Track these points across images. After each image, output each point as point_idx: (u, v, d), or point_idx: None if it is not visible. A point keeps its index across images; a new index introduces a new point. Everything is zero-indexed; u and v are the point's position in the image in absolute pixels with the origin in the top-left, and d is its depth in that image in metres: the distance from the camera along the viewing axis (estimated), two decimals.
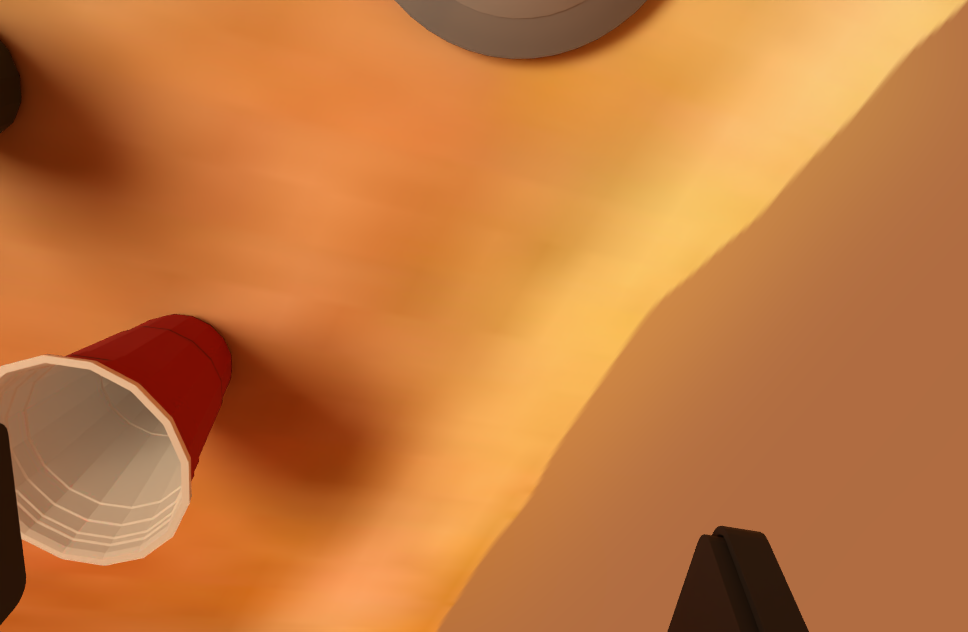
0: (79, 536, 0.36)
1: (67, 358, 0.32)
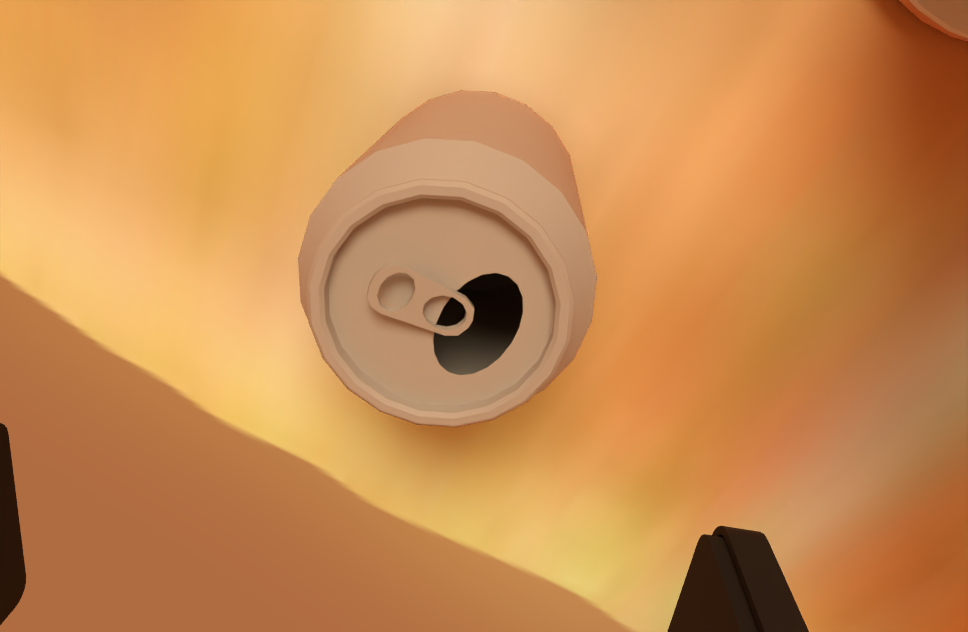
0: None
1: None
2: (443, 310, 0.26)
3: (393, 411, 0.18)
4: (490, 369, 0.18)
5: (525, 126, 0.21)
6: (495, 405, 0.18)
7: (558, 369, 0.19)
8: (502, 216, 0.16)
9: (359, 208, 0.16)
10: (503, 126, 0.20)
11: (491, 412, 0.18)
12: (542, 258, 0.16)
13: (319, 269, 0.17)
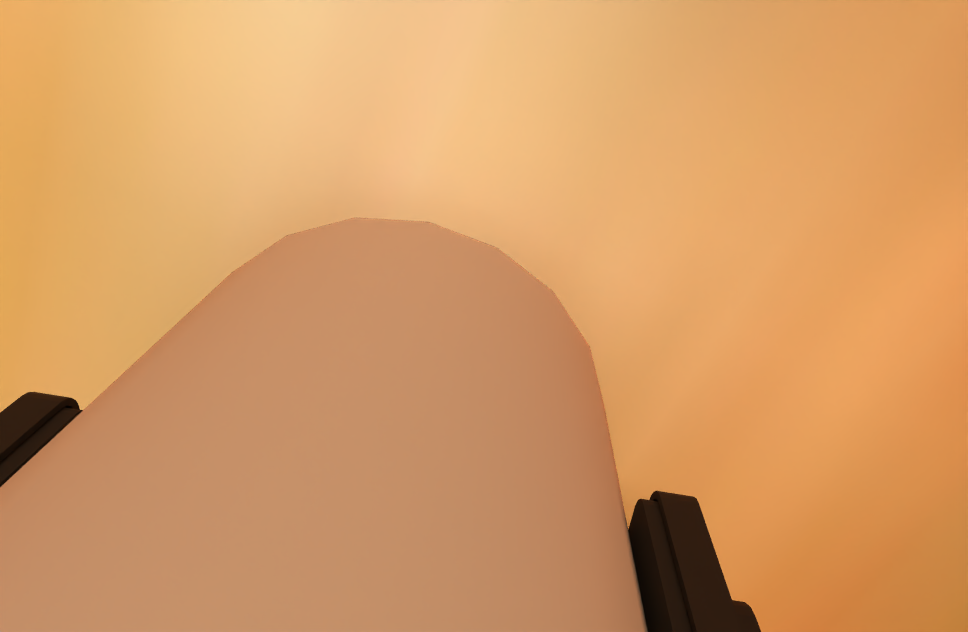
0: None
1: None
2: None
3: None
4: None
5: (483, 384, 0.08)
6: None
7: None
8: None
9: None
10: (405, 441, 0.06)
11: None
12: None
13: None
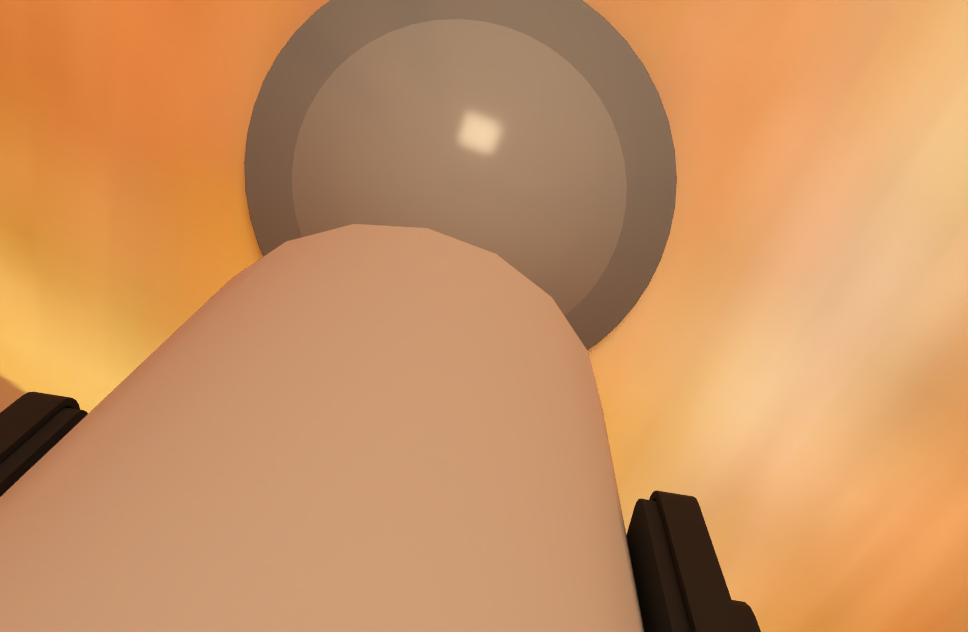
0: None
1: None
2: None
3: None
4: None
5: (481, 393, 0.08)
6: None
7: None
8: None
9: None
10: (403, 452, 0.06)
11: None
12: None
13: None
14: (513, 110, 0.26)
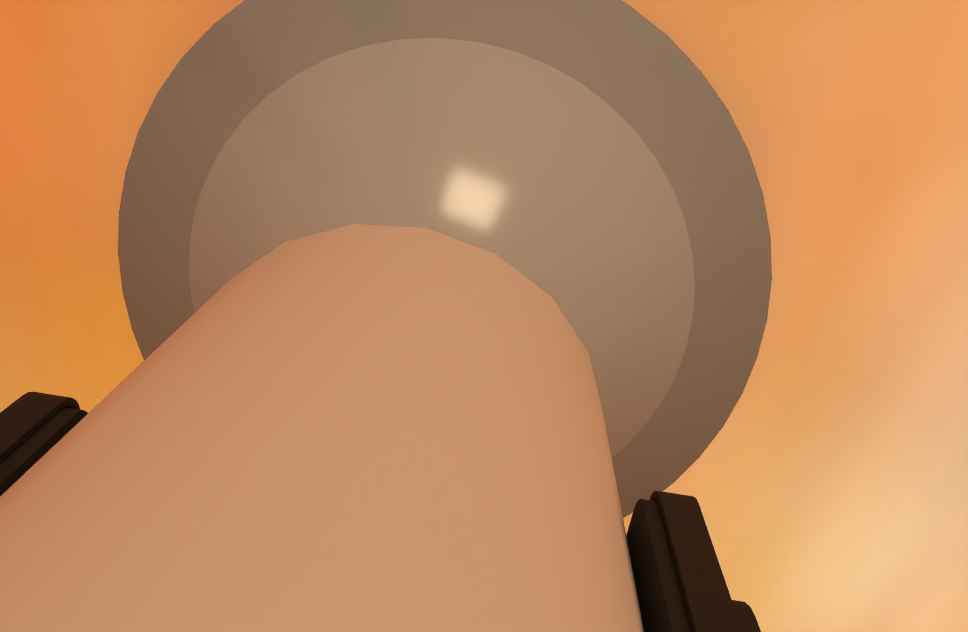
0: None
1: None
2: None
3: None
4: None
5: (481, 393, 0.08)
6: None
7: None
8: None
9: None
10: (402, 452, 0.06)
11: None
12: None
13: None
14: (522, 178, 0.17)
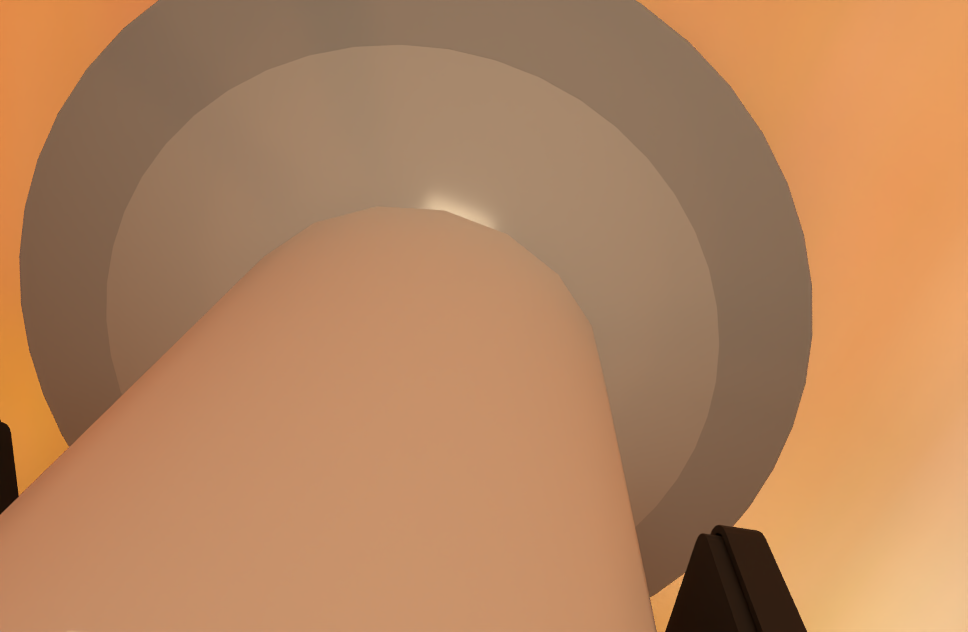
0: None
1: None
2: None
3: None
4: None
5: (500, 346, 0.09)
6: None
7: None
8: None
9: None
10: (436, 388, 0.07)
11: None
12: None
13: None
14: (509, 216, 0.14)
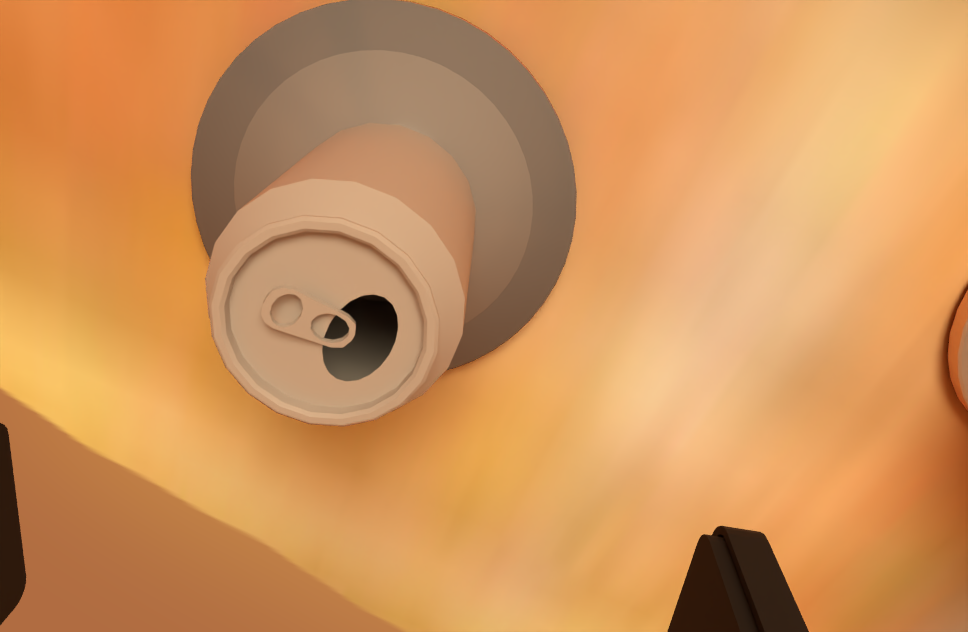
0: None
1: None
2: None
3: (288, 412, 0.21)
4: (372, 376, 0.21)
5: (416, 161, 0.24)
6: (376, 407, 0.21)
7: (434, 375, 0.22)
8: (374, 247, 0.19)
9: (252, 239, 0.19)
10: (392, 163, 0.23)
11: (373, 413, 0.21)
12: (410, 283, 0.19)
13: (219, 290, 0.20)
14: (431, 130, 0.29)
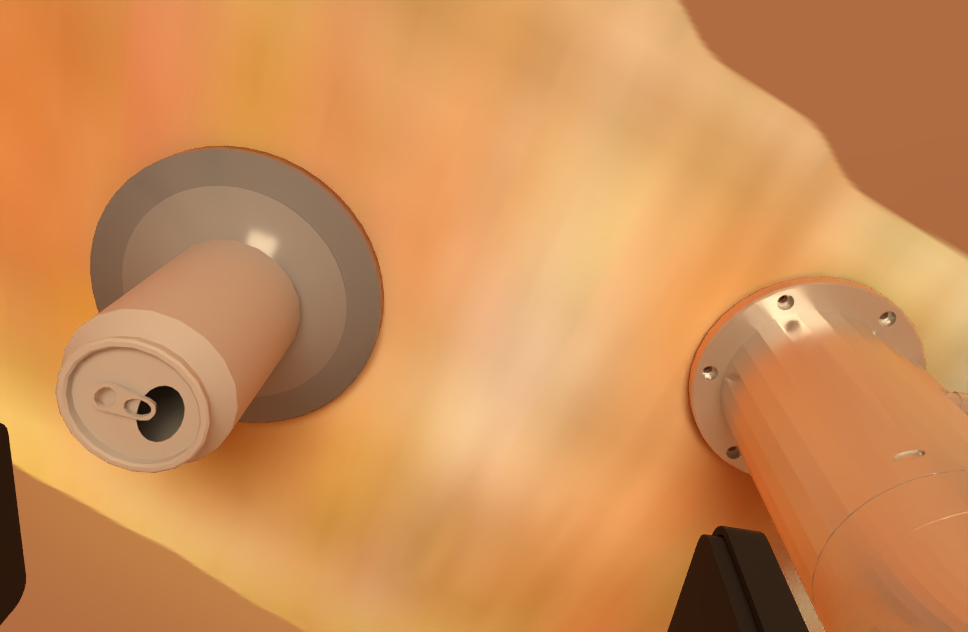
0: None
1: None
2: None
3: (115, 463, 0.31)
4: (172, 438, 0.31)
5: (225, 279, 0.34)
6: (174, 460, 0.31)
7: (221, 436, 0.31)
8: (157, 357, 0.29)
9: (78, 352, 0.29)
10: (199, 285, 0.33)
11: (172, 464, 0.31)
12: (184, 379, 0.29)
13: (60, 384, 0.29)
14: (263, 241, 0.39)
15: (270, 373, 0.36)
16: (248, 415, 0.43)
